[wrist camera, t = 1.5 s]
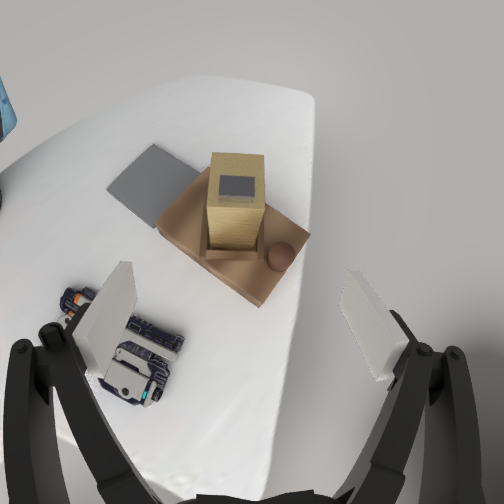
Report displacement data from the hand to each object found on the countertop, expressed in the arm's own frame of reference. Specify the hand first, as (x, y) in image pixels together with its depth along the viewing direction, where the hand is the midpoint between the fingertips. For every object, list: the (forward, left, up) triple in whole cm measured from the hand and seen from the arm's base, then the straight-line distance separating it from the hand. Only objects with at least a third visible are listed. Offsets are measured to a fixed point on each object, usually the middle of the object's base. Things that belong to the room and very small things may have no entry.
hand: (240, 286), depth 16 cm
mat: (-22, +9, -20) cm, 31 cm away
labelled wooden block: (-6, +9, -16) cm, 19 cm away
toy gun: (-11, -15, -21) cm, 28 cm away
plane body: (-6, +9, -20) cm, 23 cm away
